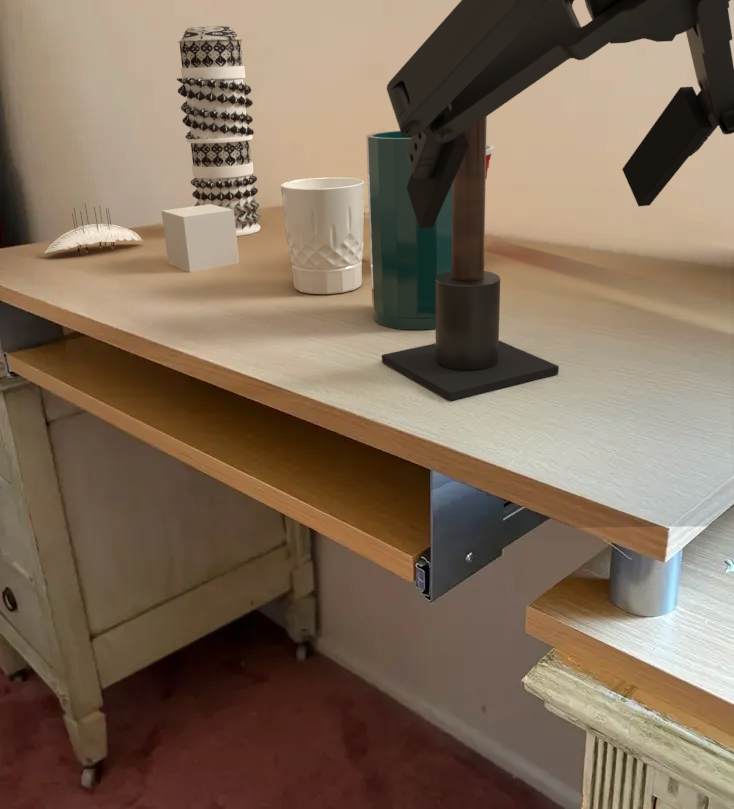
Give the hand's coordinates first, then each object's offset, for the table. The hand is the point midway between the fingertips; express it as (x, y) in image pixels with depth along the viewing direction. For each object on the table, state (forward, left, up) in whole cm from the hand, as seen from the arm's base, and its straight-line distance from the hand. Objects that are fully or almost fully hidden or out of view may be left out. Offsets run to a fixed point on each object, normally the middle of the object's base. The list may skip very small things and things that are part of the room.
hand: (531, 197), depth 47 cm
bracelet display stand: (-5, -70, -13) cm, 72 cm away
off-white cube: (+4, -53, -13) cm, 55 cm away
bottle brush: (-1, -8, -12) cm, 15 cm away
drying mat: (-1, -8, -13) cm, 15 cm away
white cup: (-3, -35, -13) cm, 38 cm away
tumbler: (-5, -21, -13) cm, 25 cm away
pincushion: (+13, -68, -13) cm, 71 cm away
